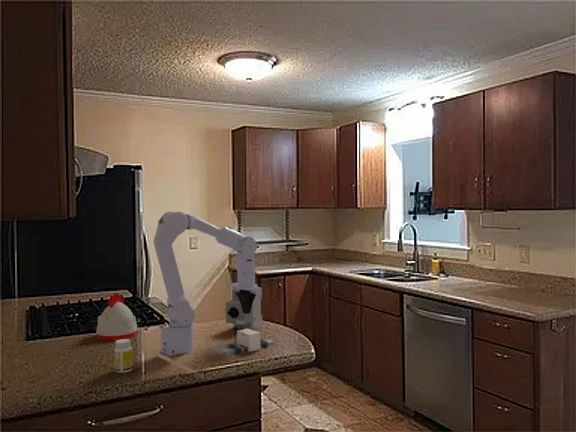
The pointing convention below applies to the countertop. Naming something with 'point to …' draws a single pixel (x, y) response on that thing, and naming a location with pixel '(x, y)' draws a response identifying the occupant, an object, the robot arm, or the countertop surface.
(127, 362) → the supplement bottle
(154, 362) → the countertop surface
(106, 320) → the kitchen timer
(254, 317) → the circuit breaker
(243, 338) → the block
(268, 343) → the rail board
